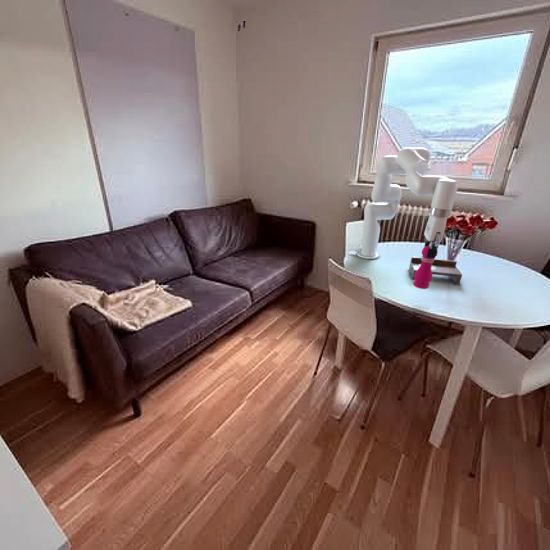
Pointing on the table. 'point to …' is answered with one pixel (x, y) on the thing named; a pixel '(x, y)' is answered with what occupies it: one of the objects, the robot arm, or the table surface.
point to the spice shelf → (438, 268)
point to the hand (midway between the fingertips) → (429, 254)
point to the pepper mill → (424, 270)
